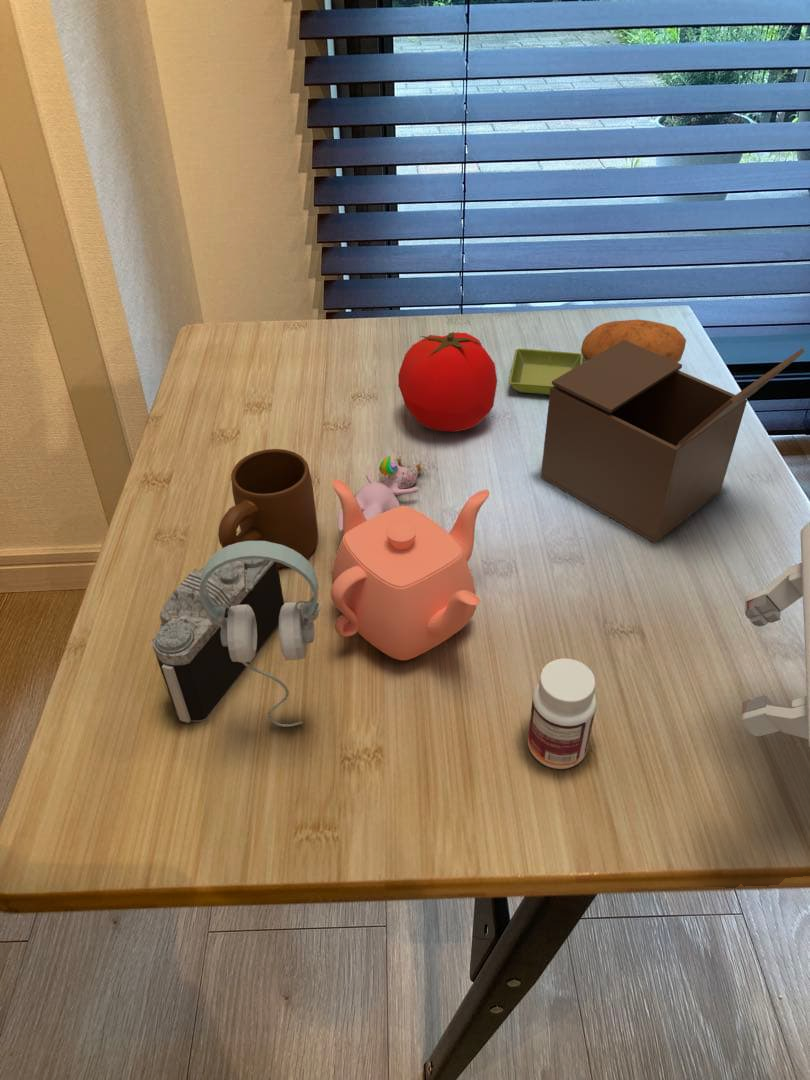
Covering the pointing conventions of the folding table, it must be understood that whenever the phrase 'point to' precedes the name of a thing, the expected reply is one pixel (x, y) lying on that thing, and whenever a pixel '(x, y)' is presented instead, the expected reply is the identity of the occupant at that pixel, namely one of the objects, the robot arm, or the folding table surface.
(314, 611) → the headphones
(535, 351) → the olive green tray
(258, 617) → the camera
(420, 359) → the tomato
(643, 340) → the potato
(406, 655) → the teapot
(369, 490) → the pink animal figure
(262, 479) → the mug
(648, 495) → the carton
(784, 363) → the flap
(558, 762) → the pill bottle
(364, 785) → the folding table surface
